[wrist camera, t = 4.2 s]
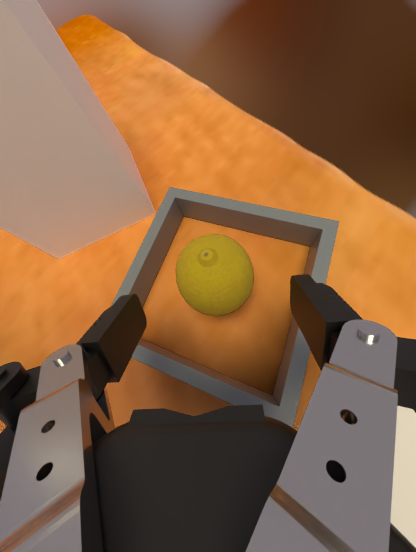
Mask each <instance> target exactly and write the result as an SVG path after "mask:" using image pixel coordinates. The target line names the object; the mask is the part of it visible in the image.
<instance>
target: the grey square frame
mask: <svg viewBox="0 0 416 552" xmlns="http://www.w3.org/2000/svg"><path fill="white" fill-rule="evenodd" d="M183 216H185V217H189V218H193V219H197V220H201V221H206V222H210V223H214V224H218V225H222V226H226V227H231V228H235V229H239V230H243V231H247V232H252V233H256V234H260V235H264V236H268V237H272V238H277V239H281V240H285V241H289V242H293V243H297V244H302V245H306V246H310V251H309V255H308V259H307V263H306V266H305V270H304V274H309V275H310V276H311V277H312V278H313V280H314V281H315V282H316V283H323V284H325V283H326V278H327V274H328V269H329V265H330V260H331V256H332V251H333V247H334V243H335V238H336V234H337V229H338V225H339V221H335V220H330V219H325V218H320V217H315V216H310V215H305V214H300V213H295V212H290V211H286V210H281V209H276V208H271V207H266V206H261V205H256V204H251V203H246V202H241V201H237V200H232V199H227V198H222V197H217V196H212V195H207V194H202V193H197V192H192V191H187V190H183V189H178V188H173V187H170V188H169V190H168V192H167V194H166V196H165V198H164V200H163V202H162V204H161V206H160V208H159V210H158V212H157V214H156V216H155V218H154V220H153V222H152V224H151V226H150V228H149V230H148V232H147V234H146V236H145V238H144V240H143V242H142V244H141V246H140V248H139V250H138V253H137V255H136V257H135V259H134V261H133V263H132V265H131V267H130V269H129V271H128V273H127V275H126V277H125V279H124V281H123V283H122V285H121V287H120V289H119V291H118V293H117V295H116V297H115V299H114V301H113V303H112V305H113V304H114V303H115V302H116V301H117V299H118V298H119V297H120V296H122V295H129V294H136V295H137V296H138V297H139V300H140V303H141V305H142V307H143V305H144V303H145V300H146V298H147V296H148V294H149V292H150V289H151V287H152V285H153V283H154V280H155V278H156V276H157V274H158V272H159V269H160V267H161V265H162V263H163V261H164V258H165V256H166V254H167V252H168V249H169V247H170V245H171V243H172V241H173V238H174V236H175V234H176V232H177V230H178V227H179V225H180V223H181V221H182V218H183ZM112 305H111V306H112ZM309 354H310V348H309V346H308V344H307V342H306V340H305V338H304V336H303V334H302V332H301V330H300V328H299V326H298V324H297V322H296V320H295V318H294V317H292V321H291V325H290V329H289V333H288V337H287V341H286V345H285V348H284V352H283V356H282V360H281V364H280V368H279V372H278V376H277V380H276V384H275V388H274V391H273V395H270V394H268V393H265V392H263V391H261V390H258V389H256V388H254V387H251V386H249V385H247V384H245V383H242V382H240V381H238V380H235V379H233V378H231V377H228V376H226V375H224V374H221V373H219V372H217V371H214V370H212V369H210V368H207V367H205V366H203V365H200V364H198V363H196V362H193V361H191V360H189V359H186V358H184V357H182V356H180V355H177V354H175V353H173V352H170V351H168V350H166V349H163V348H161V347H159V346H156V345H154V344H152V343H149V342H147V341H145V340H142V339H140V341H139V343H138V345H137V347H136V349H135V351H134V353H133V355H132V357H131V358H133V359H135V360H137V361H140V362H142V363H144V364H146V365H148V366H150V367H152V368H155V369H157V370H159V371H161V372H163V373H165V374H168V375H170V376H172V377H174V378H176V379H178V380H180V381H183V382H185V383H187V384H189V385H191V386H193V387H196V388H198V389H200V390H202V391H204V392H206V393H208V394H211V395H213V396H215V397H217V398H219V399H221V400H224V401H226V402H228V403H230V404H232V405H234V406H237V405H261V404H263V409H264V415H265V416H267V417H270V418H274V419H276V420H279V421H281V422H283V423H285V424H287V425H289V426H291V427H292V428H293V426H294V421H295V417H296V412H297V408H298V403H299V399H300V394H301V390H302V385H303V381H304V376H305V372H306V367H307V363H308V359H309Z"/></svg>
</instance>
